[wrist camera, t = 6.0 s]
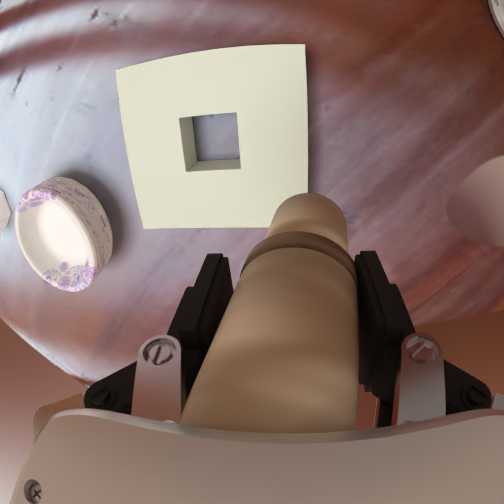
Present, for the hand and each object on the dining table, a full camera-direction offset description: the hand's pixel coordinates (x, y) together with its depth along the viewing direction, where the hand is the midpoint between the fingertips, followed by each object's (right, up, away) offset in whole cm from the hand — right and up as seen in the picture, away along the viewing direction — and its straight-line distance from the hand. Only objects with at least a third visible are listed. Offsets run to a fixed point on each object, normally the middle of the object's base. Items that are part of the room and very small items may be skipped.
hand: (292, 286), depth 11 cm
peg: (+1, +2, +3) cm, 4 cm away
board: (-5, +14, +18) cm, 23 cm away
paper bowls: (-26, +6, +26) cm, 37 cm away
